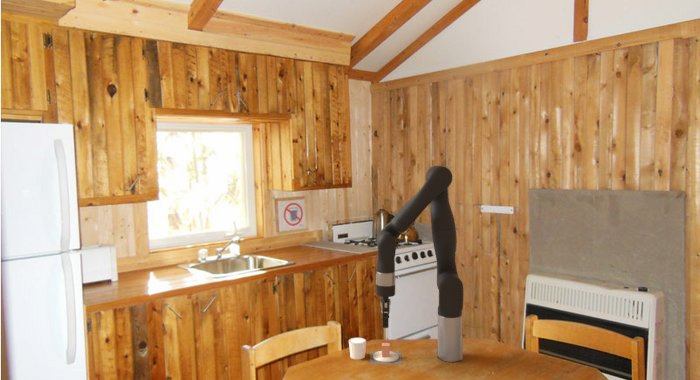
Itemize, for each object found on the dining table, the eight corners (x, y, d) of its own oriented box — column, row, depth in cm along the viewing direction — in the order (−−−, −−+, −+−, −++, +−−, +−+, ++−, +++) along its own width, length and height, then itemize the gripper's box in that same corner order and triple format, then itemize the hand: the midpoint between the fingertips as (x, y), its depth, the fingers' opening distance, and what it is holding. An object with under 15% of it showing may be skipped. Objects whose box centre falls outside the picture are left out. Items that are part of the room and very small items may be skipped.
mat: (400, 352, 203) (400, 351, 203) (402, 365, 191) (402, 364, 191) (370, 352, 203) (370, 351, 203) (370, 365, 191) (370, 363, 191)
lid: (397, 352, 202) (397, 339, 201) (399, 363, 192) (399, 349, 192) (372, 352, 202) (372, 339, 202) (372, 362, 192) (372, 349, 192)
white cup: (366, 361, 195) (366, 343, 195) (348, 361, 195) (348, 343, 195) (366, 354, 202) (366, 337, 201) (349, 354, 202) (348, 337, 202)
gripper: (396, 287, 188) (395, 330, 189) (394, 278, 202) (394, 318, 203) (375, 287, 188) (375, 330, 189) (375, 278, 202) (375, 317, 203)
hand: (385, 323), depth 196 cm, fingers open, 8 cm apart
